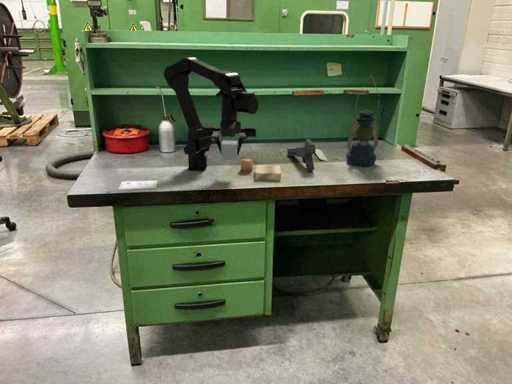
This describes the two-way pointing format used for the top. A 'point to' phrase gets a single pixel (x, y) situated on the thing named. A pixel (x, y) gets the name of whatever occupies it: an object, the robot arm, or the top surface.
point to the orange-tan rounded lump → (246, 165)
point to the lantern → (363, 138)
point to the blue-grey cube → (229, 150)
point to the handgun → (304, 155)
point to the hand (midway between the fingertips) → (229, 154)
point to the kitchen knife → (318, 152)
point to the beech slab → (268, 172)
